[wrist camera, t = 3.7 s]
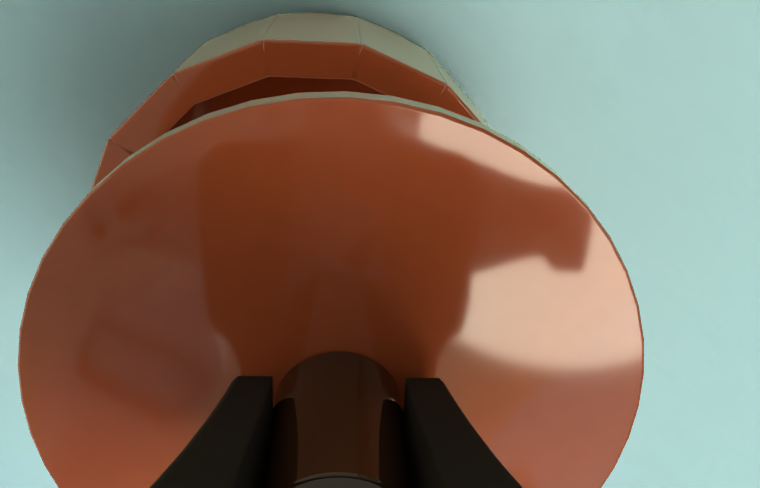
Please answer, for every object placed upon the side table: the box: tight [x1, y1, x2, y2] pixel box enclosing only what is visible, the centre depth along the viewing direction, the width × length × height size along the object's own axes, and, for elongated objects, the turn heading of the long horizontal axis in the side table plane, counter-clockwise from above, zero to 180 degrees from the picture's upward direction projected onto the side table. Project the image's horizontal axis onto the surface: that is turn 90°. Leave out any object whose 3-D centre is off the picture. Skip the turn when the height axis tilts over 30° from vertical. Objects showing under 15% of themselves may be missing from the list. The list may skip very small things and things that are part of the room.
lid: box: [18, 91, 644, 488], centre depth 13 cm, size 12×12×4 cm
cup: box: [91, 12, 490, 190], centre depth 20 cm, size 11×11×5 cm
